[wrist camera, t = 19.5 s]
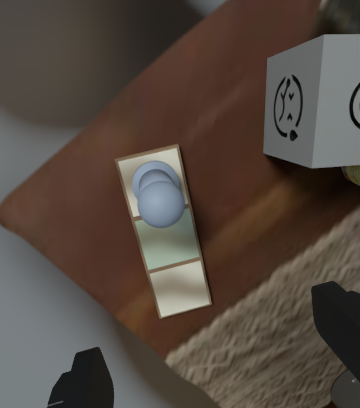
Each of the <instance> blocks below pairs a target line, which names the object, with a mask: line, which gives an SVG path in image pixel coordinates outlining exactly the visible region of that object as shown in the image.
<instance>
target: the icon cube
mask: <svg viewBox="0 0 360 408" xmlns="http://www.w3.org/2000/svg"><path fill="white" fill-rule="evenodd" d="M263 153H264V154H267V155H270V156H274V157H277V158H280V159H283V160H287V161H290V162H293V163H296V164H299V165H303V166H306V167H309V168H324V167H338V166H352V165H360V34H343V35H322V36H320V37H318V38H315V39H313V40H310V41H308V42H306V43H303V44H301V45H299V46H296V47H294V48H291V49H289V50H287V51H284V52H282V53H279V54H277V55H275V56H272V57H270V58H267V81H266V104H265V127H264V150H263Z"/></svg>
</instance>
